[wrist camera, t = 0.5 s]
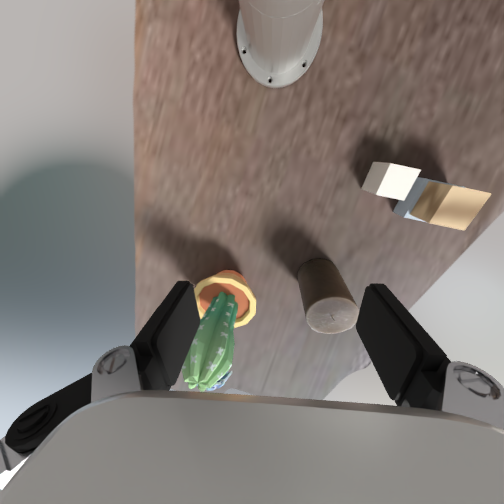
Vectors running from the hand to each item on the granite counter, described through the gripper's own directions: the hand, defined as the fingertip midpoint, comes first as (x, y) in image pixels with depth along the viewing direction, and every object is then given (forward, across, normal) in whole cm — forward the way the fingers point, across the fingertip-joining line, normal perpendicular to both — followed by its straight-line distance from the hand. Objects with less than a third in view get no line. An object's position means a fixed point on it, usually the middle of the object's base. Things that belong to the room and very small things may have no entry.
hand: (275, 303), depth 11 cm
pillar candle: (+34, -11, +20) cm, 41 cm away
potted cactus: (+34, +11, +23) cm, 42 cm away
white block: (+33, -21, -2) cm, 39 cm away
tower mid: (+30, -29, +2) cm, 42 cm away
